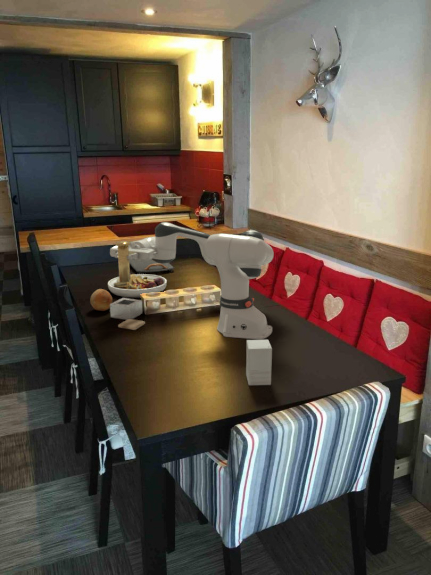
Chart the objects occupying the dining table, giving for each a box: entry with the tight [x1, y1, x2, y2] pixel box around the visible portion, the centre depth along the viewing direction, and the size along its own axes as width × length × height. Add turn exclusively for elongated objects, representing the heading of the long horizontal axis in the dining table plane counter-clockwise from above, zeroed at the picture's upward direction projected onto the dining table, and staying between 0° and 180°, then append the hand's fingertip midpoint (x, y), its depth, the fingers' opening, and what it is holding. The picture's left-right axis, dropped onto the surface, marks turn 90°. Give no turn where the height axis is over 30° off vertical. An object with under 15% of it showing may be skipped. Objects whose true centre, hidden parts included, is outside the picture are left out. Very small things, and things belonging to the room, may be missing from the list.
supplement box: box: [245, 339, 273, 386], centre depth 153 cm, size 7×7×13 cm
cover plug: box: [115, 240, 131, 283], centre depth 208 cm, size 6×6×17 cm
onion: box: [89, 288, 113, 312], centre depth 219 cm, size 10×10×10 cm
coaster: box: [117, 318, 146, 331], centre depth 202 cm, size 8×8×1 cm
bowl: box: [107, 273, 168, 299], centre depth 250 cm, size 30×30×8 cm
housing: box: [109, 297, 143, 321], centre depth 214 cm, size 10×10×6 cm
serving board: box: [129, 259, 175, 274], centre depth 298 cm, size 39×23×6 cm, turn 21°
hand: (122, 256), depth 206 cm, fingers closed on cover plug, 5 cm apart
